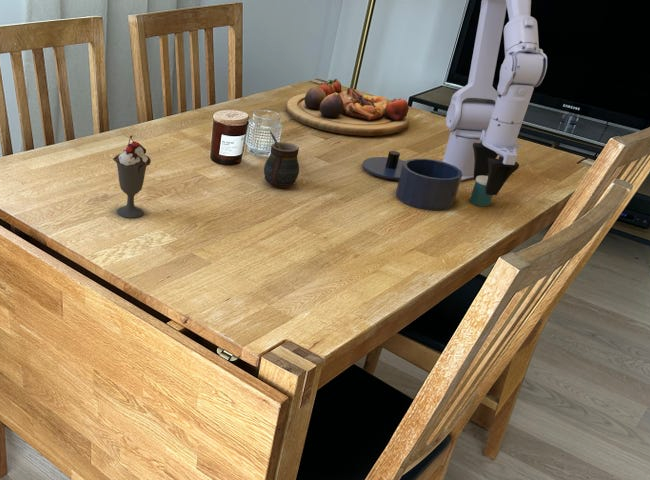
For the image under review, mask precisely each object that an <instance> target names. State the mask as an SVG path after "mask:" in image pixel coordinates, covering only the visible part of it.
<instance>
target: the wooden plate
mask: <svg viewBox="0 0 650 480" xmlns="http://www.w3.org/2000/svg"><path fill="white" fill-rule="evenodd" d="M409 109H410V106H409V104H408V101H407V100H406V99H403V98H398V99H397V98H394V99H392V100H390V101H389V100H388V99H387V98H386V97H384V96H382V95H372V96H371V95H367V94H364V93H361V92H357V91H356V90H355V89H354V88H353V87H348V88H347V90H343V91H342V83H341V82H340V81H339V80H338V78H334V79H328V82H324V83H323V82H321V83H320V84H319V85H316V86H312V87H311V88H310V89H308V90H307V92H306V93H301V94H300V93H299V94H297V95H295V96H292V97H291V98H289V99H288V100H287V102H286V104H285V110H286V113H287V115H289V116H290V117H291V118H292V119H293V120H295V121H297V122H299V123H300V124H303V125H305V126H308V127H310V128H314V129H317V130H320V131H324V132H325V131H326V132H330V133H335V134H341V135H350V136H365V137H366V136H368V137H369V136H371V137H372V136H373V137H374V136H387V135H392V134H397V133H399V132H402V131H403V130H405V129H406V128H407V127H408V126H409V124H410V116H409V114H408V113H409Z"/></svg>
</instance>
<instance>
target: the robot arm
mask: <svg viewBox="0 0 650 480" xmlns="http://www.w3.org/2000/svg"><path fill="white" fill-rule="evenodd" d="M480 3H481V4H480V12H479V17H478V23H477V28H476V34H475V40H474V47H473V51H472V52H473V53H472V58H471V64H470V69H469V75H468V81H467V84H466V85H465V86H463V87H461V88H460V89H458V90H456V91H455V93H453V94H452V95H451V98H450V99H451V100H450V103H449V106H448V109H447V112H446V116H445V123H446V127H447V129H448V130H449V131H450V133H449V136H448V140H447V143H446V147H445V150H444V154H443V156H442V157H443V158H442V160H441V161H442V162H445V163H448V164H451V165H453V166H455V167H457V168H458V169H459V170H461V172H462V178H461V181H460V182H462V181H465V180H469V179H473V180H474V181H476V177H477V176H481V175H483V176H488V180H487V184H486V194H487V195H493V196H497V195H498V194H499V192H500V191H501V189H502V187H504V184H505V183H506V182H507V181H508V179H509V178H510V176H511V175H512V174H513V173H515V171H517V170H518V169H519V167H520V164H519V163H518V162H517V158H518V154H517V149H520V148H521V144H520V142H518V141H517V139H518V137H519V134H520V131H521V127H522V125H523V122H524V119H525V116H526V113H527V110H528V107H529V104H530V101H531V98H532V95H533V92H534V91H535V90H534V89H535V88H537V87H539V86H540V85H541V84H542V82H543V80H544V78H545V76H546V73H547V69H548V56H547V54H546V53H544V50H543V49H542V48H540V44H539V30H538V29H539V27H538V21H537V19H536V18H535V17H533V16H531V12H532V11H531V8H532V0H481V2H480ZM506 12H507V15H508V22H507V23H506V24H505V19H506ZM504 24H505V25H504ZM502 35H503V45H504V60H503V62H502V63H501V65H500V68H499V80H498V84H497V89H495V88H494V86H493V84H494V78H495V72H496V68H497V61H498V56H499V51H500V46H501V42H502V41H501V40H502ZM469 100H470V101H469ZM497 157H498V158H497Z"/></svg>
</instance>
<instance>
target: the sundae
mask: <svg viewBox="0 0 650 480" xmlns="http://www.w3.org/2000/svg"><path fill="white" fill-rule="evenodd" d="M131 141H132V142H131ZM146 153H147V149H146V148H145V147H144V146H143V145H142V144H141V143H139V142H137V141H134V139H133V135H132V134H131V135H130V136H129V140H128V143H127V144H126V146H125V147H124V149H123V150H122V152H121V153H120V152H119V153H118V154H117V155H115V156H114V157H112V158H113V159H112V160H113V161H114V163H116V168H117V174H118V183H119V188H120V190H121V191H122V192H123V193H124V194H125V195H126V197H127V198H126V199H127V201H126V204H125V206H121V207H118V208H117V210H116V214H117V215H118V216H120V217H123V218H126V219H127V218H128V219H136V218H140V217H142V216H143V215H144V214H145V212H144V210H143V209H142V208H141V207H137V206H135V196H136V195H137V194H139V193H140V191H142V190H143V185H144V182H145V181H144V180H145V176H146V170H147V167H148V166H150V165H151V163H152V161H151V157H149V156H148V155H146Z"/></svg>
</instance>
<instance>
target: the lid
mask: <svg viewBox="0 0 650 480" xmlns="http://www.w3.org/2000/svg"><path fill="white" fill-rule="evenodd" d="M400 156H401V152H399V151H397V150H390V151H388V153H387V156H374V157H368V158H366V159H364V160H363V161H362V164H361V166H362V168H363V170H365V171H367V173H369V174H371V175H374V176H377V177H378V178H379V177H380V178H383V179H389V180H394V181H395V180H396V181H397V180H398V181H399V178H400V174H401V170H402V166H403V163H404V162H405V161H406V160H403V159H400Z"/></svg>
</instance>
